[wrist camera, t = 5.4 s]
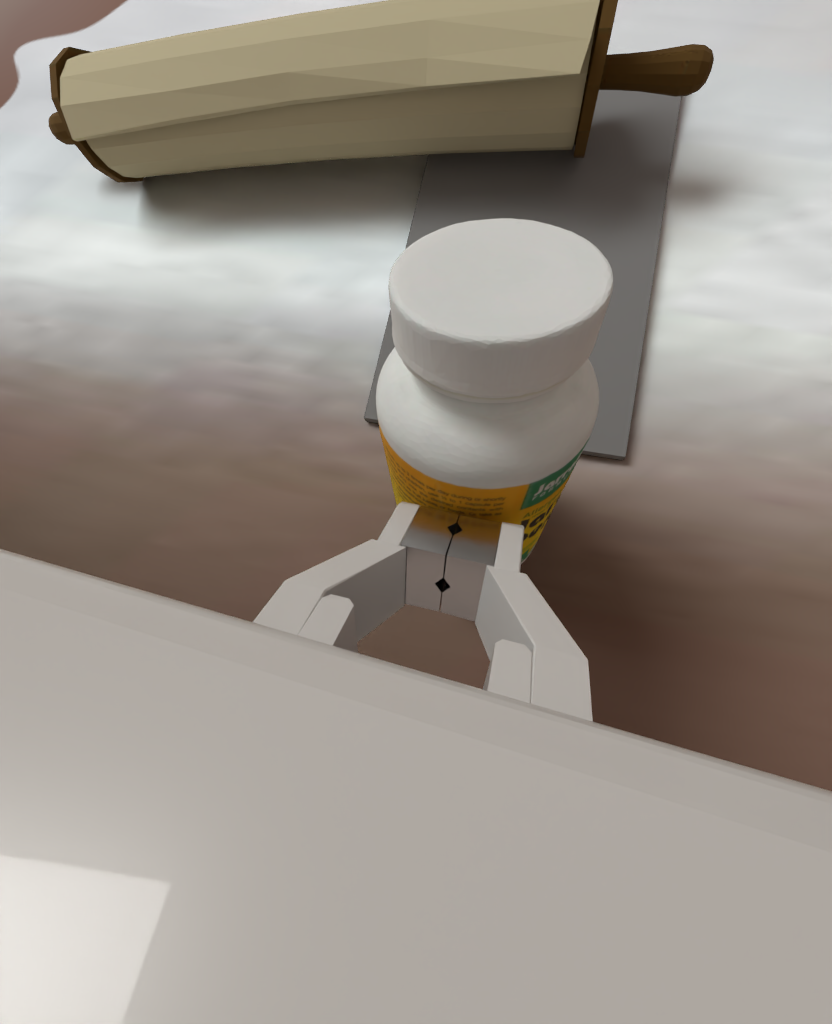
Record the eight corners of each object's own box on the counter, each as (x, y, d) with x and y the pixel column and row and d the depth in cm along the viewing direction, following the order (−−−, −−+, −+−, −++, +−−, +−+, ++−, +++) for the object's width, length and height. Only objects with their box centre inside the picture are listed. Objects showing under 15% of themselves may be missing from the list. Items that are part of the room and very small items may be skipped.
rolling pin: (685, 89, 17) (762, -107, 12) (672, 199, 16) (750, 38, 11) (107, 133, 24) (10, 20, 19) (81, 211, 23) (-28, 115, 18)
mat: (366, 421, 18) (363, 417, 17) (446, 94, 20) (445, 84, 19) (621, 459, 15) (625, 456, 15) (679, 88, 18) (684, 77, 17)
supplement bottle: (434, 452, 17) (428, 184, 9) (554, 493, 16) (682, 219, 7) (376, 553, 15) (291, 320, 6) (510, 612, 13) (623, 410, 5)
